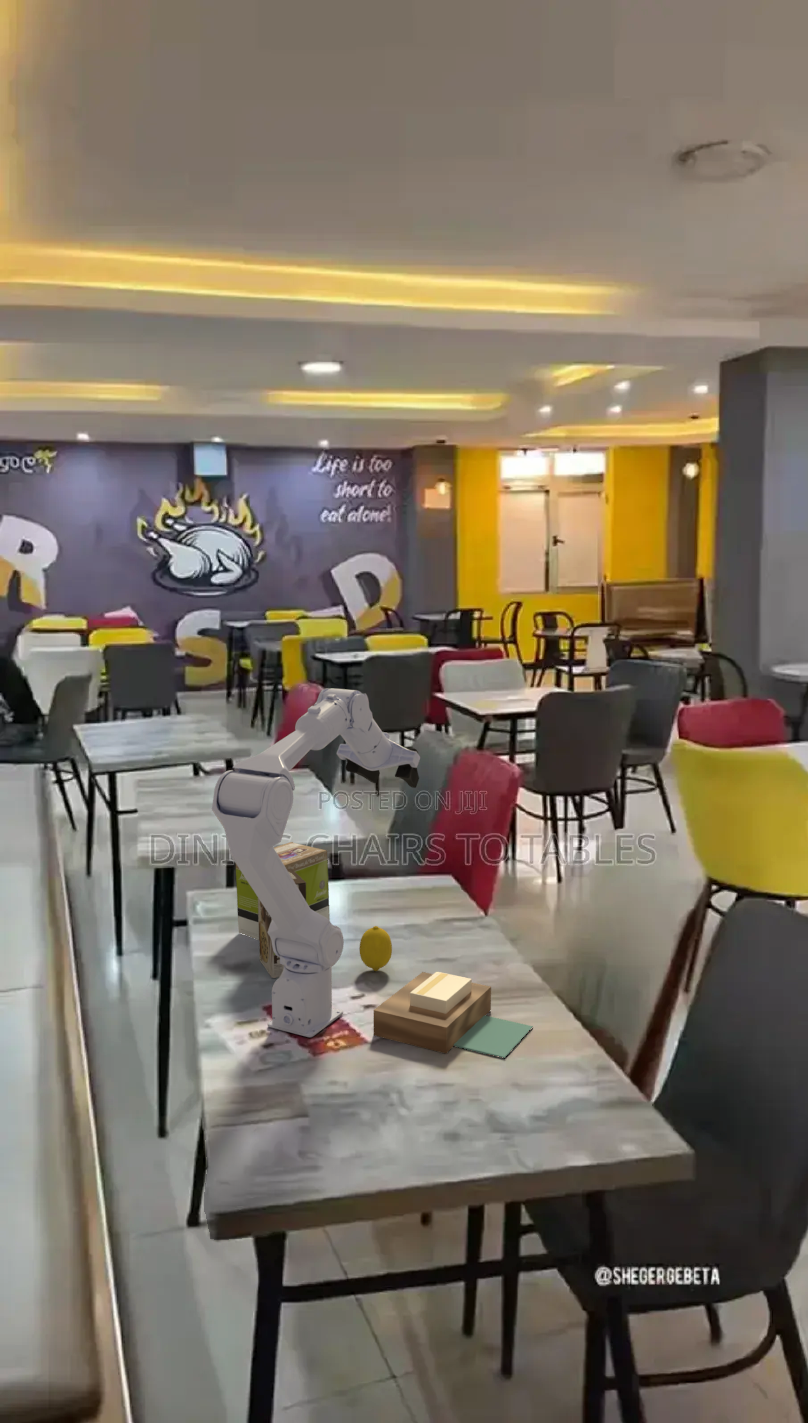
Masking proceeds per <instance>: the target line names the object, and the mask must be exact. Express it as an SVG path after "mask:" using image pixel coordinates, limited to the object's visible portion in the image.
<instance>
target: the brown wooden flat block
mask: <svg viewBox="0 0 808 1423" xmlns="http://www.w3.org/2000/svg"><path fill="white" fill-rule="evenodd" d="M433 974H434V973H429V972H426V971H425V972H424V971H422V972H421V973H419V974H418V975H417V976H415V977H414V978H413V979H412V980H410V981H409V982H408V983H406V984H405V985H404V986H403V987H401V988H400V989H399V990H397V991H396V992H395V993H394V994H392V995H391V996H390V997H388V998H387V999H386V1000H385V1001H384V1002H382V1003H380V1004H379V1006H377V1007H375V1008H374V1009H373V1036H375V1037H378V1038H382V1039H386V1040H391V1041H395V1042H398V1043H403V1044H407V1045H411V1046H414V1047H418V1048H422V1049H426V1050H430V1051H434V1052H437V1053H438V1052H439V1053H442V1054H448V1052H449V1051H451V1050H452V1049H453V1048H454V1047H453V1046H454V1044H455V1043H456V1042H457V1041H458V1040H459V1039H460V1038H461V1037H462V1036H463V1035H464V1034H465V1033H466V1032H467V1031H468V1030H469V1029H470V1028H471V1027H473V1026H474V1025H475V1024H476V1023H477V1022H478V1021H479V1020H480V1019H481V1018H482V1017H483V1016H484V1015H486V1014H487V1013H488V1014H489V1013H490V1012H491V1011H492V986H490V985H484V984H482V983H476V982H472V991H471V992H470V993H469V994H468V995H467V996H466V997H464V998H463V999H462V1000H461V1001H460V1002H459V1003H458V1004H457V1005H455V1006H454V1007H453V1008H452V1009H451V1010H450V1011H449V1012H447V1013H446V1014H445V1013H441V1012H436V1011H432V1010H428V1009H424V1008H419V1007H415V1006H411V1005H410V992H412V991H413V990H414V989H415V988H417V987H418V986H419V985H420V984H422V983H423V982H424V981H425V980H427V979H428V978H429V977H430V976H432V975H433ZM490 1010H491V1011H490ZM489 1011H490V1012H489ZM488 1014H487V1015H488ZM487 1015H486V1016H487ZM452 1047H453V1048H452ZM451 1048H452V1049H451ZM450 1049H451V1050H450Z"/></svg>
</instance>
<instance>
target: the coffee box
mask: <svg viewBox="0 0 808 1423" xmlns="http://www.w3.org/2000/svg"><path fill="white" fill-rule="evenodd" d="M287 871H288V872H289V874H290V876H291V877H292V879H293V881H294V882H295V884H296V886H297V887H298V889H299V891H300V892H301V894H302V896H303V897H304V899H305V901H306V882H305V881H304V880H303V879H302V878H301V877H300V876H299V875H298V874H297V873H296V872H295V871H294V870H292V869H291V868H289V869H287ZM258 921H259V940H258V943H259V944H258V945H259V946H258V949H259V952H258V954H259V961H260V963H261V964H262V965H263V967H264V968H265V970H266V971H267V973H268V974H269V976H270V977H271V978H272V979H278V978H279V977H280V976H281V974H282V972H283V969H284V965H282V964H280V957H278V956H277V955H276V954H275V953H274V951H273V948H272V941H271V938H270V936H269V934H268V929H269V926H270V923H271V921H272V918H271V916H270V915H269V913H268V912H267V910H266V909H265V907H264V906H263V904H262V903H261V901H260V900H259V898H258Z"/></svg>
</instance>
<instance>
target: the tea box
mask: <svg viewBox="0 0 808 1423" xmlns="http://www.w3.org/2000/svg"><path fill="white" fill-rule="evenodd" d="M273 848H274V849H275V851H276V853H277V854H278V856H279V858H280V859H281V861H282V863H283V864H284V866H285V867H286V869H289V868H291V869H292V870H294V871H295V872H296V873H297V874H298V875H299V876H300V877H301V878H302V879H303V880H304V881H305V882H306V902H307V904H308V906H309V907H310V909H312V910H313V911H315V912H317V913H319V914H320V915H322V916H324V917H326V918H327V919H329V921H330V922H331V920H330V919H331V918H330V917H331V916H330V914H331V913H330V888H329V885H330V884H329V866H328V862H329V861H328V860H329V859H328V858H329V857H328V849H327V850H326V849H323V848H322V849H321V848H318V847H313V846H308V845H304V844H300V843H295V842H293V841H290V842H288V843H284V844H281V845H277V846H273ZM235 878H236V880H235V881H236V882H235V883H236V903H237V904H236V907H237V926H238V933H239V934H240V933H242V934H245V935H247V936H250V937H252V938H251V939H253V938H255V939H254V940H256V939H257V941H259V921H258V897H257V895H256V893H255V892H254V890H253V889H252V887H251V886H250V884H249V883H248V881H247V880H246V878H245V877H244V875H243V874H242V872H241V870H240V869H239V867H238V866H237V864H236V863H235ZM242 934H241V935H242ZM245 935H244V936H245ZM247 936H246V937H247ZM250 937H249V938H250Z"/></svg>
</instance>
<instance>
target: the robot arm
mask: <svg viewBox="0 0 808 1423" xmlns="http://www.w3.org/2000/svg"><path fill="white" fill-rule="evenodd" d="M294 727H295V728H294V729H295V730H294V731H293V732H291V733H289V734H288V735H287V736H285V737H283V738H282V739H280V740H279V741H277V742H275V743H274V744H273V745H271V746H269V747H268V748H266V749H265V750H263V751H262V752H260V753H258V754H256V755H254V756H250V757H248V758H245V759H242V760H239V761H237V762H236V763H235V764H234V765H233V766H232V769H231V770H227V771H224V772H223V773H222V774H221V775H220V776H219V778H218V780H217V781H216V784H215V787H214V791H213V797H212V798H213V799H212V806H211V811H213V813H214V815H215V817H216V818H217V820H218V822H220V824H221V826H222V827H223V829H224V833H225V837H226V841H227V846H228V849H229V853H230V855H231V858H232V860H233V861H234V863H235V865H236V864H237V866H238V867H239V869H240V870H241V872H242V874H243V875H244V877H245V878H246V880H247V881H248V883H249V884H250V886H251V887H252V889H253V890H254V892H255V893H256V895H257V897H258V898H259V900H260V901H261V903H262V904H263V906H264V907H265V909H266V910H267V912H268V913H269V915H270V916H271V918H272V921H271V923H270V926H269V929H268V934H269V936H270V938H271V941H272V948H273V951H274V953H275V954H276V955H277V956H278V957H280V964H282V965H284V969H283V972H282V974H281V976H280V977H278V978H276V980H275V981H274V983H273V985H272V988H271V1017H272V1018H271V1019H272V1020H271V1021H269V1022H268V1023H267V1027H268V1028H272V1029H275V1030H279V1031H283V1032H286V1033H291V1034H295V1035H299V1036H303V1037H307V1038H313V1037H314V1036H315V1035H317V1034H318V1033H320V1032H321V1031H322V1030H323V1029H324V1028H326V1027H328V1026H329V1025H330V1024H332V1023H333V1022H334V1021H335V1020H337V1019H338V1018H340V1017H341V1016H342V1015H344V1011H343V1010H342V1009H337V1008H333V995H332V994H333V989H332V988H333V985H332V984H333V981H332V980H333V978H332V974H333V973H332V972H333V968H332V967H334V965H336V964H337V962H338V961H339V960H340V958H341V956H342V952H343V949H344V941H345V940H344V936H343V932H342V929H341V928H340V927H339V926H337V925H334V924H332V922H331V920H330V921H329V919H327V918H326V917H324V916H322V915H320V914H319V913H317V912H315V911H313V910H312V909H310V907H309V906H308V904H307V902H306V901H305V899H304V897H303V896H302V894H301V892H300V891H299V889H298V887H297V886H296V884H295V882H294V881H293V879H292V877H291V876H290V874H289V872H288V871H287V869H286V867H285V866H284V864H283V863H282V861H281V859H280V858H279V856H278V854H277V853H276V851H275V849H274V847H275V846H276V845H278V844H280V843H281V842H282V838H283V836H284V833H285V829H286V827H287V823H288V819H289V815H290V813H291V810H292V807H293V803H294V791H295V790H296V785H295V781H294V778H293V775H292V773H291V772H290V771H291V770H292V769H293V768H294V767H295V766H296V765H297V764H298V763H299V762H300V761H301V759H303V758H304V757H305V755H307V753H308V752H310V750H312V751H320V750H322V749H324V748H325V747H326V746H328V745H329V744H330V743H332V741H334V740H335V739H336V738H338V737H339V736H341V738H342V739H343V740H344V741H345V743H340V744H339V746H338V749H337V751H336V755H337V757H338V758H339V759H340V760H343V761H345V760H346V764H345V766H344V767H345V768H344V769H345V770H346V772H347V773H353V774H357V775H358V776H361V777H362V778H364V779H366V780H368V782H371V783H372V784H377V782H378V779H379V777H380V774H381V773H380V770H385V769H389V768H395V767H397V769H396V770H395V774H394V777H395V778H399V779H402V780H403V781H404V782H405V783H406V784H407V785H408V786H409V787H411V788H413V789H416V788H417V786H418V784H419V780H420V776H419V772H418V765H419V763H420V761H421V760H420V759H421V756H420V754H419V751H418V750H417V749H416V748H412V747H404V746H402V745H400V744H398V743H396V742H394V741H393V740H391V739H390V734H389V733H388V732H384V731H382V729H381V728H380V727H379V725H378V723H377V722H376V720H375V719H374V718H373V712H372V711H371V709H370V702H369V697H368V695H367V693H366V692H365V693H362V692H361V691H360V690H357V689H345V688H323V689H322V690H321V691H320V692H319V694H318V697H317V699H316V702H315V703H314V704H313V705H311V706H310V707H308V708H307V712H306V713H304V714H303V715H301V717H299V718H298V719H297V721H296V722H295V726H294ZM233 769H237V771H236V770H233Z"/></svg>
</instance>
